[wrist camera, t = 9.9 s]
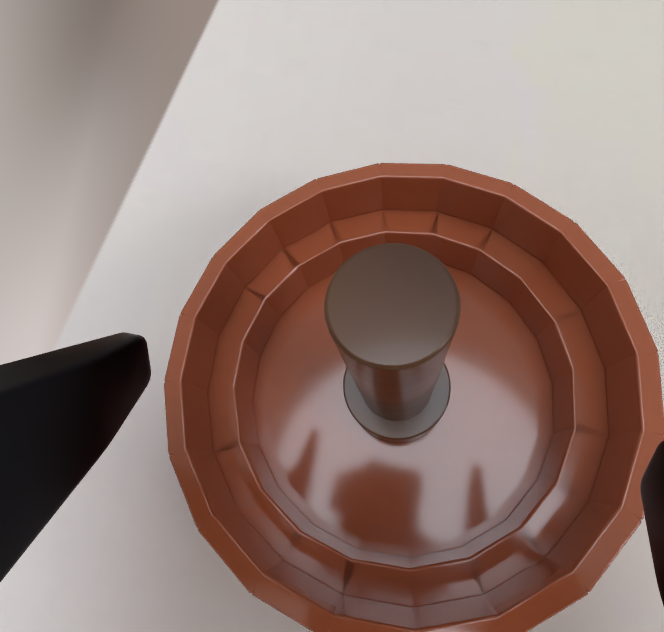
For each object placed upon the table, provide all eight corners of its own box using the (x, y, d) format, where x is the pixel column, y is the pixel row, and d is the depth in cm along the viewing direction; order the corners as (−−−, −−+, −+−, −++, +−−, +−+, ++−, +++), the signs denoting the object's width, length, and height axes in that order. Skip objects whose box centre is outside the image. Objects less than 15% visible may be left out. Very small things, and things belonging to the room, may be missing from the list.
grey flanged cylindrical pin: (401, 464, 17) (402, 453, 7) (329, 397, 18) (250, 313, 8) (465, 390, 17) (543, 290, 8) (391, 329, 18) (381, 179, 9)
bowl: (420, 705, 15) (429, 810, 10) (156, 407, 20) (78, 386, 15) (672, 380, 17) (774, 345, 12) (380, 178, 22) (374, 96, 17)
